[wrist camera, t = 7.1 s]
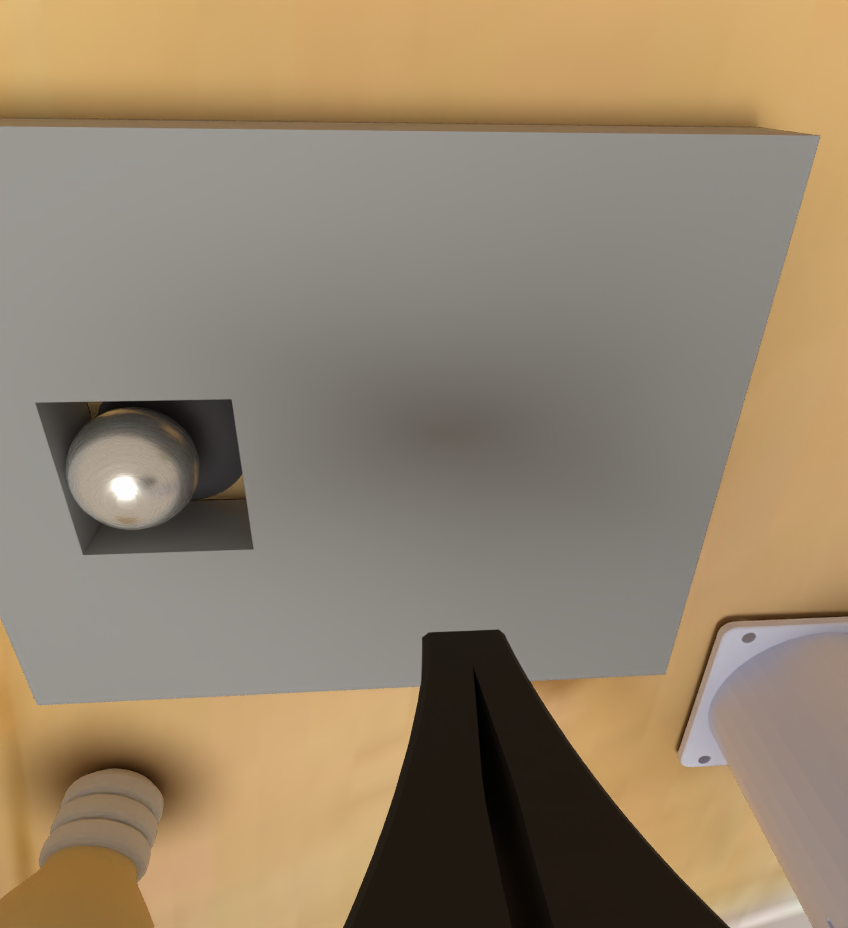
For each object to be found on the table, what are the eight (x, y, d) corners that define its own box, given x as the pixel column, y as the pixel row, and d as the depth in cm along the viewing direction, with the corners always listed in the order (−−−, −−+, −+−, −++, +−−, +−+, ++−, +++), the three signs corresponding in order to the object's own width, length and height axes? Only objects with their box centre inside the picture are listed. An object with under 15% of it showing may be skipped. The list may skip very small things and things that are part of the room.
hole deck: (759, 127, 16) (820, 135, 14) (638, 620, 24) (665, 674, 22) (-122, 116, 14) (-208, 124, 12) (68, 645, 23) (37, 705, 20)
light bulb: (105, 849, 29) (-6, 1180, 20) (-2, 770, 26) (-189, 1123, 17) (232, 803, 28) (172, 1131, 19) (136, 715, 25) (13, 1060, 16)
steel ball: (188, 380, 18) (180, 436, 15) (212, 477, 20) (208, 543, 17) (63, 395, 17) (32, 455, 15) (98, 494, 19) (75, 565, 16)
